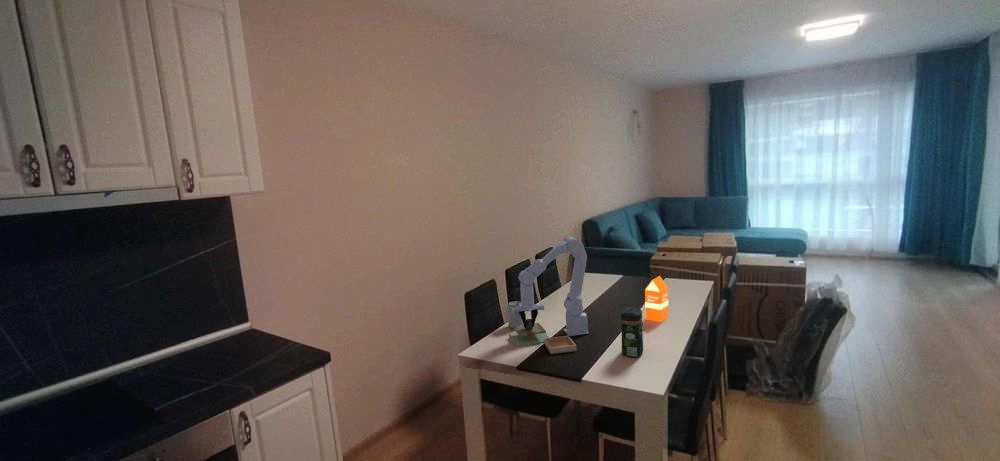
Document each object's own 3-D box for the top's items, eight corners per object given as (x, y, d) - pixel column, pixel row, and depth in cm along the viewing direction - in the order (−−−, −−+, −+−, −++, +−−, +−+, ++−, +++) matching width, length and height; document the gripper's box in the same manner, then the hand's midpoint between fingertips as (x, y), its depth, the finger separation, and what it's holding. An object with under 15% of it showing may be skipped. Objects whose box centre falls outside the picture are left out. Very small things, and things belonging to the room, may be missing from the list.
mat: (543, 330, 210) (543, 329, 210) (551, 341, 197) (550, 340, 197) (509, 334, 208) (509, 333, 208) (515, 346, 195) (515, 345, 194)
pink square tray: (568, 340, 196) (568, 335, 196) (576, 350, 186) (576, 345, 185) (544, 344, 195) (543, 338, 194) (550, 354, 184) (550, 348, 184)
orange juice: (668, 316, 217) (668, 276, 214) (660, 322, 211) (660, 280, 208) (653, 313, 222) (652, 274, 219) (645, 319, 216) (644, 278, 213)
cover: (538, 324, 209) (537, 314, 208) (546, 332, 197) (545, 322, 196) (513, 327, 206) (512, 317, 206) (519, 336, 195) (518, 325, 194)
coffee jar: (625, 346, 186) (624, 304, 184) (645, 349, 182) (644, 305, 180) (619, 356, 178) (618, 311, 175) (639, 359, 174) (638, 313, 171)
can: (523, 329, 213) (521, 305, 212) (507, 329, 215) (505, 305, 213) (525, 323, 221) (523, 300, 219) (510, 323, 222) (508, 300, 220)
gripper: (512, 301, 195) (514, 331, 197) (545, 298, 197) (546, 327, 199) (510, 297, 202) (511, 326, 204) (541, 293, 204) (542, 322, 206)
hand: (529, 326), depth 202 cm, fingers closed on cover, 3 cm apart
